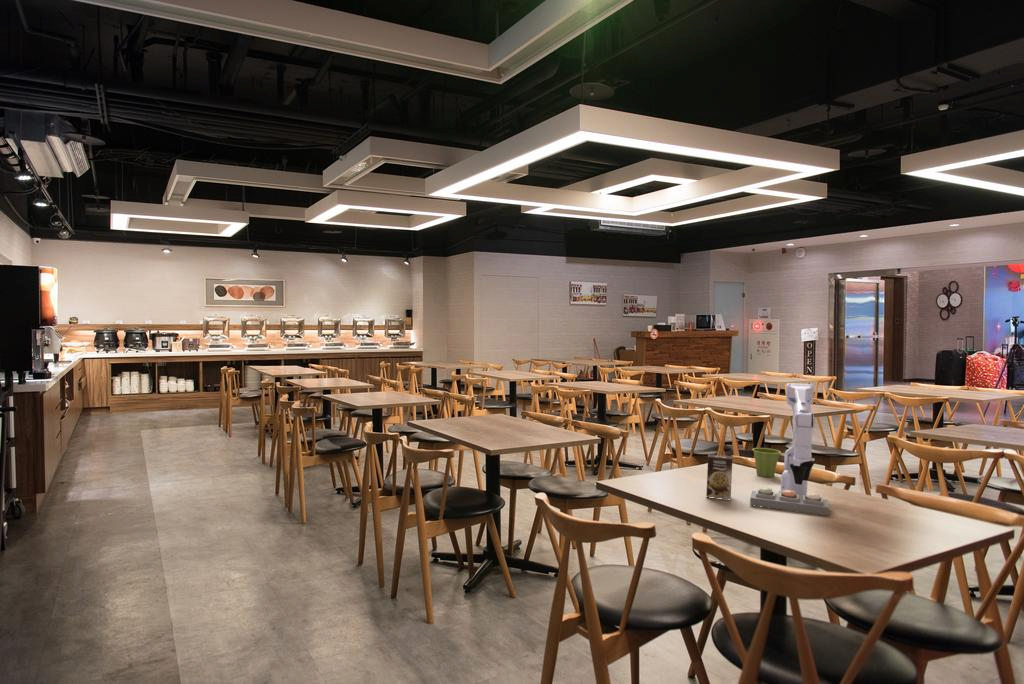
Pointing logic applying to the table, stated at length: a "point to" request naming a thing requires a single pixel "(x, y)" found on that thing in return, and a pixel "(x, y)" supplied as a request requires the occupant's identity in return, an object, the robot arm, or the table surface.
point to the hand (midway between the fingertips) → (801, 482)
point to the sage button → (765, 490)
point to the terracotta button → (789, 493)
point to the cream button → (813, 496)
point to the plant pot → (766, 461)
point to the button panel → (790, 503)
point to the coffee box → (719, 476)
